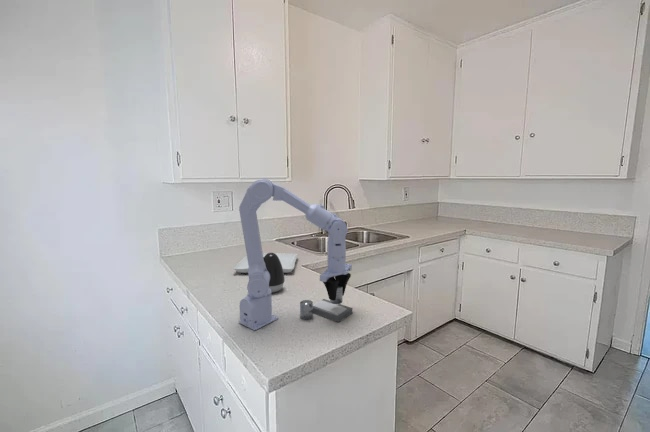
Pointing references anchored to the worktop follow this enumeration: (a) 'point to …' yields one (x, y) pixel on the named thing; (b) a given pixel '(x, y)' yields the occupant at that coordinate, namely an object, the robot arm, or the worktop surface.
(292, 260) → the square plate
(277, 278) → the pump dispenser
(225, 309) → the worktop surface
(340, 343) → the worktop surface
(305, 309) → the cylinder
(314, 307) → the scale
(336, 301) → the cylinder
